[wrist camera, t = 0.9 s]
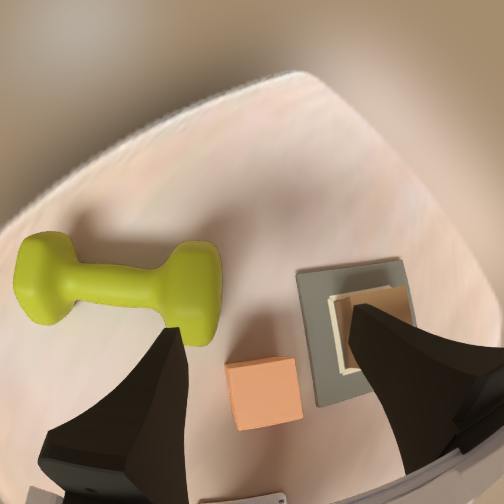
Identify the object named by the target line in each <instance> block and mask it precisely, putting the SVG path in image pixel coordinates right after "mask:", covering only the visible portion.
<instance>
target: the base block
mask: <svg viewBox="0 0 504 504" xmlns="http://www.w3.org/2000/svg"><path fill="white" fill-rule="evenodd" d="M364 303H367V304H370V305H372V306H374V307H376V308H378V309H380V310H382V311H384V312H386V313H388V314H390V315H392V316H394V317H396V318H398V319H400V320H402V321H404V322H406V323H408V324H410V325H412V326H413V322H412V316H411V311H410V306H409V301H408V296H407V292H406V287H405V285H404V286H399V287H394V288H389V289H384V290H379V291H374V292H369V293H364V294H359V295H353V296H349V297H347V298H344V299H342V300H339V301H337V302H335V307H336V312H337V318H338V323H339V329H340V335H341V341H342V347H343V354H344V360H345V367H346V368H357V369H360V368H359V366H358V364H357V363H356V361H355V359H354V356H353V354H352V352H351V349H350V347H349V344H348V339H349V333H350V327H351V320H352V314H353V307H354V305H358V304H364Z"/></svg>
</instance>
